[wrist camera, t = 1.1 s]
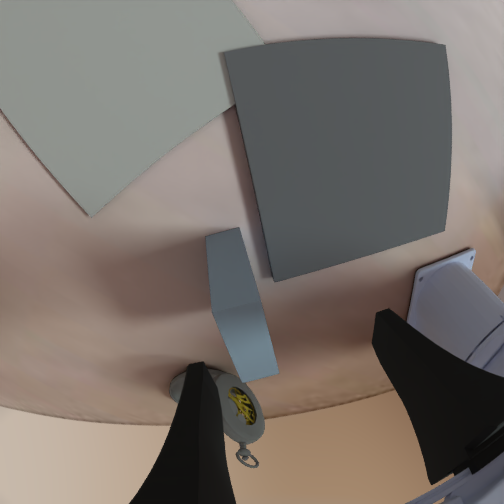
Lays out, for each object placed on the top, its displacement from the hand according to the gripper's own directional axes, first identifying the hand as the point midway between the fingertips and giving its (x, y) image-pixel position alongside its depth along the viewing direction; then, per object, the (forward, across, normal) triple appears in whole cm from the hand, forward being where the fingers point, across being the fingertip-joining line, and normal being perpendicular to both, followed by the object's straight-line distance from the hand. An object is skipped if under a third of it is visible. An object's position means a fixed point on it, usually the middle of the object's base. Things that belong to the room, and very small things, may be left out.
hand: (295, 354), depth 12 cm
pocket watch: (+10, +7, +14) cm, 18 cm away
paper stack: (+10, +12, -17) cm, 23 cm away
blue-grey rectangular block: (+10, +2, +2) cm, 10 cm away
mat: (+10, -8, -4) cm, 13 cm away
